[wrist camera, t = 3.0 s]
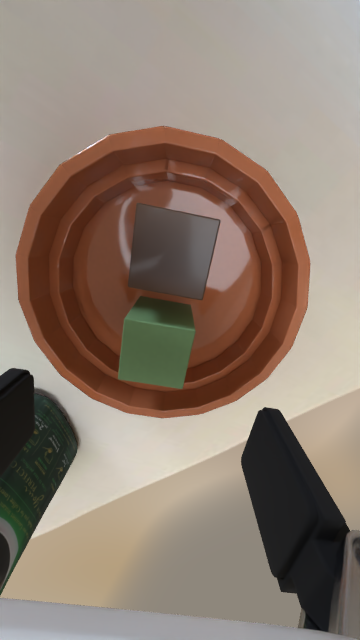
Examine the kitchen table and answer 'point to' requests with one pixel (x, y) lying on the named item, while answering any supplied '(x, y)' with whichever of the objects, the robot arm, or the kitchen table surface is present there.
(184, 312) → the sage-green block
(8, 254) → the kitchen table surface
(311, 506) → the robot arm
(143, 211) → the walnut block
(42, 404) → the coffee jar
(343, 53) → the kitchen table surface
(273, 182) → the bowl
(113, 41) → the kitchen table surface
